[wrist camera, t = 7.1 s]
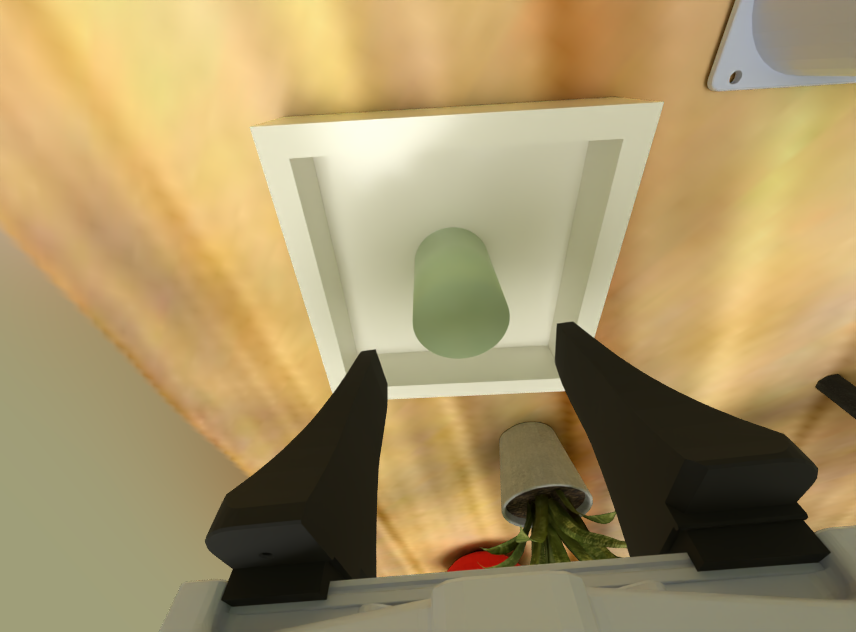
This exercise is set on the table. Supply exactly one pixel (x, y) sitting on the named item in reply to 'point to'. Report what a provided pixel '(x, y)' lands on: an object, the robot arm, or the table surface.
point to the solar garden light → (839, 392)
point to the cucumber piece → (457, 295)
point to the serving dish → (456, 225)
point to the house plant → (546, 500)
